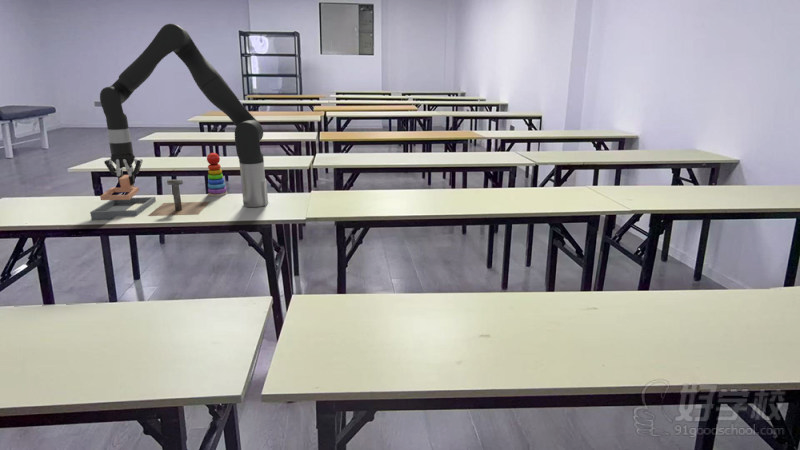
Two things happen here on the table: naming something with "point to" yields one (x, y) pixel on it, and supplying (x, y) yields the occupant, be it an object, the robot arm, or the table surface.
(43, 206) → the table surface
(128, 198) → the tan piece
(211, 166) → the stacking toy
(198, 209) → the stake board
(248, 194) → the robot arm
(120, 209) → the tray
